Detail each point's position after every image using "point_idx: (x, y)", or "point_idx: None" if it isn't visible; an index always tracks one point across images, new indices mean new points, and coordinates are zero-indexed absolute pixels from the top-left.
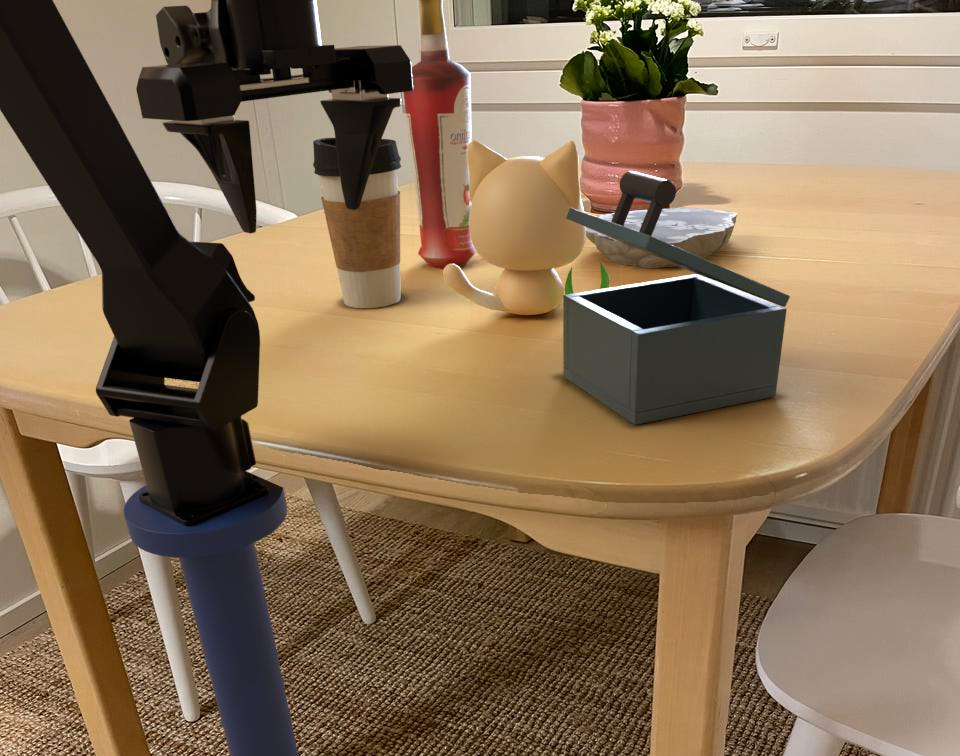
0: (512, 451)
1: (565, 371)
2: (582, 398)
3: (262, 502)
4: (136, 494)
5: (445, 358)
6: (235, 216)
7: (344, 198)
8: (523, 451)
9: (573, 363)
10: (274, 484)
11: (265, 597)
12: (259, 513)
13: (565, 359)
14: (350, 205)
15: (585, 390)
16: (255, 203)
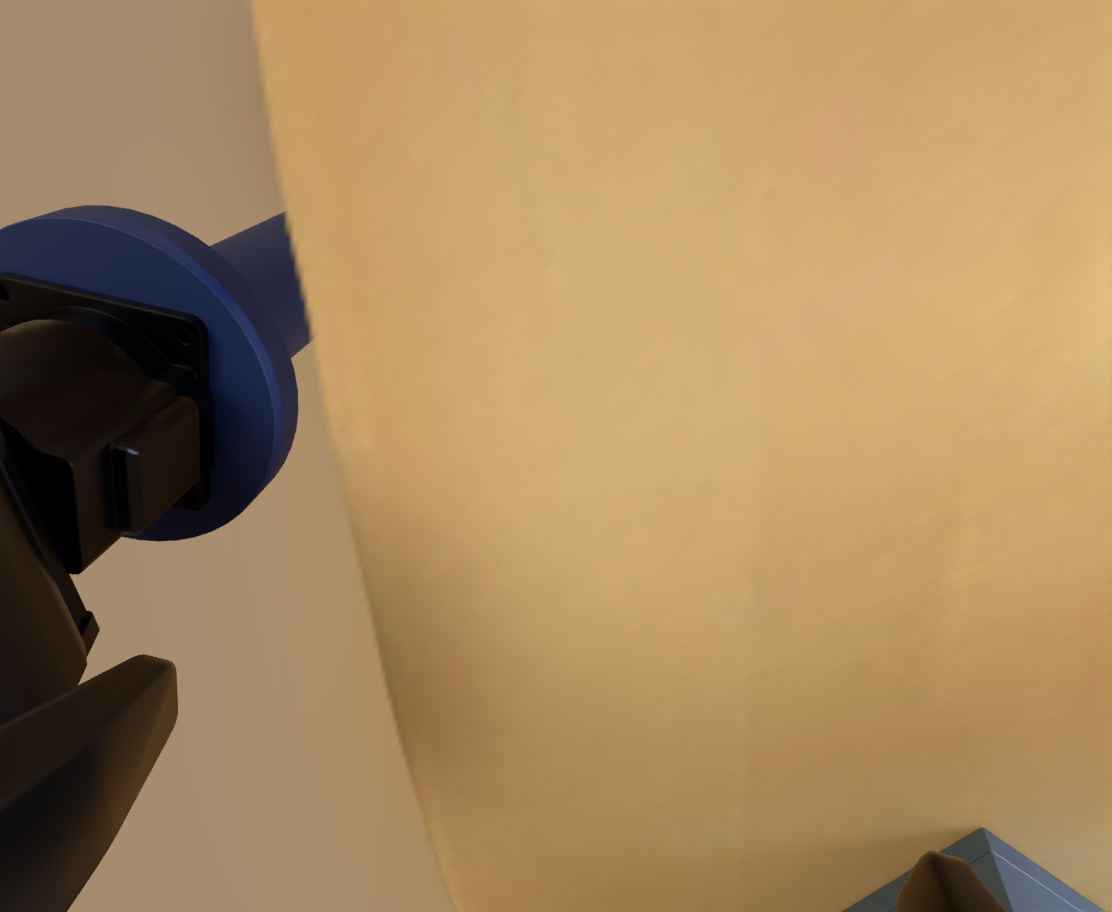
0: (529, 855)
1: (976, 847)
2: (846, 885)
3: (174, 517)
4: (3, 240)
5: (1086, 508)
6: (63, 695)
7: (947, 897)
8: (538, 869)
9: None
10: (239, 488)
11: (292, 356)
12: (144, 538)
13: (984, 876)
14: (917, 894)
15: (885, 888)
16: (73, 894)
